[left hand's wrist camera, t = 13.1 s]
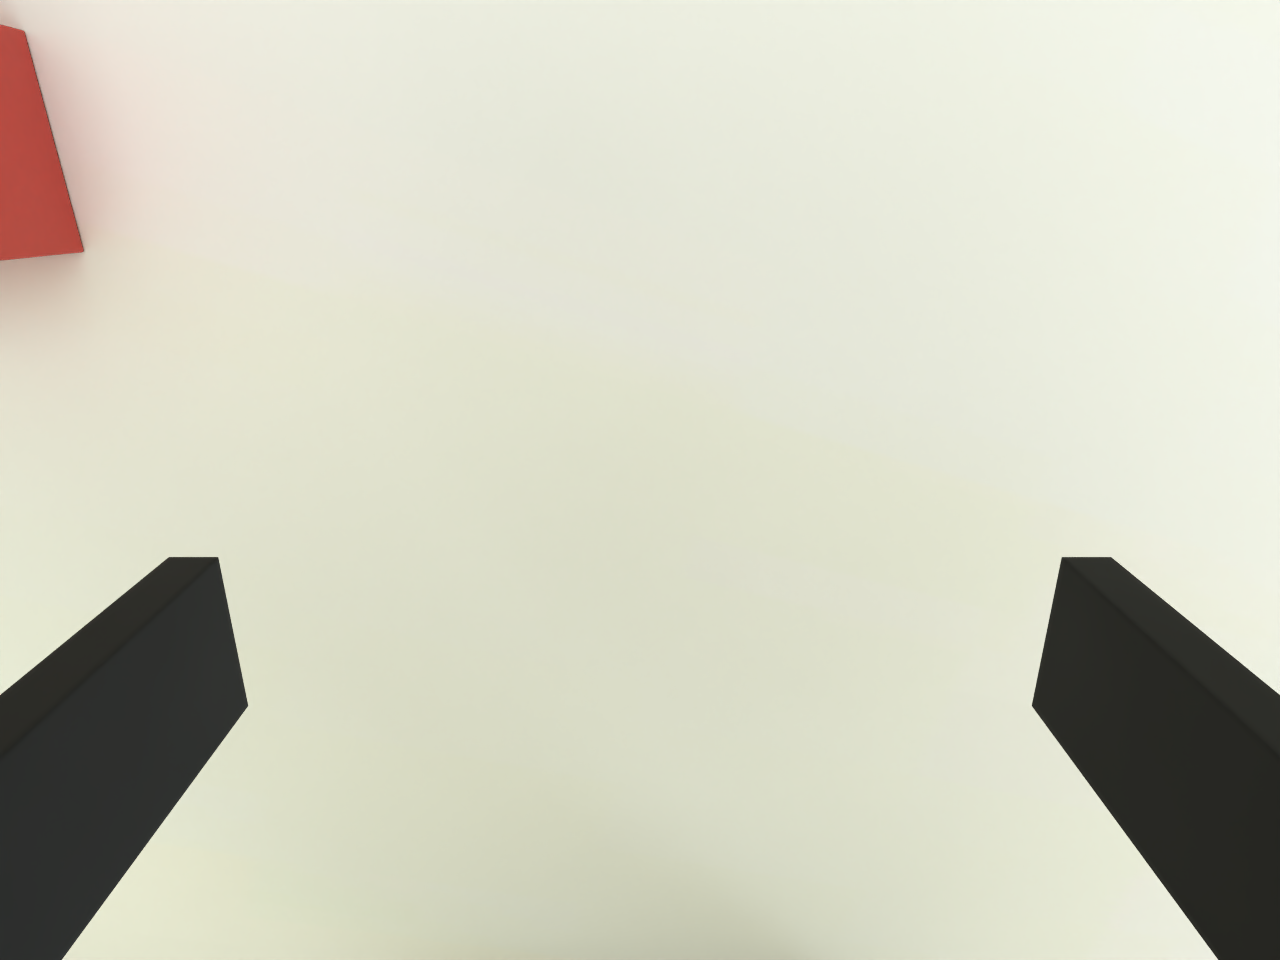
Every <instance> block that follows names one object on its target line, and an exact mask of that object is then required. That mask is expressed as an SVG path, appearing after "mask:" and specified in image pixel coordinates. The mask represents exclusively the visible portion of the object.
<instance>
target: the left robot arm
mask: <svg viewBox="0 0 1280 960" xmlns="http://www.w3.org/2000/svg"><path fill="white" fill-rule="evenodd" d="M247 707H248V703H247V698H246V693H245V688H244V683H243V678H242V673H241V668H240V663H239V658H238V653H237V648H236V643H235V638H234V633H233V628H232V624H231V619H230V614H229V609H228V604H227V599H226V594H225V589H224V584H223V579H222V574H221V569H220V564H219V559H218V557H169V558H167V559H166V560H165V561H164V562H163V563H161V564H160V565H159V566H158V567H156V568H155V569H154V570H153V571H151V572H150V573H149V574H148V575H147V576H145V577H144V578H143V579H142V580H140V581H139V582H138V583H137V584H136V585H134V586H133V587H132V588H131V589H129V590H128V591H127V592H126V593H125V594H123V595H122V596H121V597H120V598H118V599H117V600H116V601H115V602H114V603H112V604H111V605H110V606H109V607H107V608H106V609H105V610H104V611H103V612H101V613H100V614H99V615H98V616H96V617H95V618H94V619H93V620H92V621H90V622H89V623H88V624H87V625H85V626H84V627H83V628H82V629H81V630H79V631H78V632H77V633H76V634H74V635H73V636H72V637H71V638H70V639H68V640H67V641H66V642H65V643H63V644H62V645H61V646H60V647H59V648H57V649H56V650H55V651H54V652H52V653H51V654H50V655H49V656H48V657H46V658H45V659H44V660H43V661H41V662H40V663H39V664H38V665H37V666H35V667H34V668H33V669H32V670H30V671H29V672H28V673H27V674H25V675H24V676H23V677H22V678H21V679H19V680H18V681H17V682H16V683H14V684H13V685H12V686H11V687H10V688H8V689H7V690H6V691H5V692H3V693H2V694H1V695H0V960H62V959H63V957H64V956H65V955H66V953H67V952H68V950H69V949H70V948H71V946H72V945H73V944H74V942H75V941H76V940H77V938H78V937H79V935H80V934H81V933H82V931H83V930H84V929H85V927H86V926H87V925H88V923H89V922H90V920H91V919H92V918H93V916H94V915H95V914H96V912H97V911H98V910H99V908H100V907H101V905H102V904H103V903H104V901H105V900H106V899H107V897H108V896H109V895H110V893H111V892H112V891H113V889H114V888H115V886H116V885H117V884H118V882H119V881H120V880H121V878H122V877H123V876H124V874H125V873H126V871H127V870H128V869H129V867H130V866H131V865H132V863H133V862H134V861H135V859H136V858H137V856H138V855H139V854H140V852H141V851H142V850H143V848H144V847H145V846H146V844H147V843H148V841H149V840H150V839H151V837H152V836H153V835H154V833H155V832H156V831H157V829H158V828H159V827H160V825H161V824H162V822H163V821H164V820H165V818H166V817H167V816H168V814H169V813H170V812H171V810H172V809H173V807H174V806H175V805H176V803H177V802H178V801H179V799H180V798H181V797H182V795H183V794H184V792H185V791H186V790H187V788H188V787H189V786H190V784H191V783H192V782H193V780H194V779H195V777H196V776H197V775H198V773H199V772H200V771H201V769H202V768H203V767H204V765H205V764H206V763H207V761H208V760H209V758H210V757H211V756H212V754H213V753H214V752H215V750H216V749H217V748H218V746H219V745H220V743H221V742H222V741H223V739H224V738H225V737H226V735H227V734H228V733H229V731H230V730H231V728H232V727H233V726H234V724H235V723H236V722H237V720H238V719H239V718H240V716H241V715H242V713H243V712H244V711H245V709H246V708H247ZM1032 707H1033V708H1034V709H1035V711H1036V712H1037V713H1038V715H1039V716H1040V718H1041V719H1042V720H1043V722H1044V723H1045V724H1046V726H1047V727H1048V728H1049V730H1050V731H1051V733H1052V734H1053V735H1054V737H1055V738H1056V739H1057V741H1058V742H1059V743H1060V745H1061V746H1062V748H1063V749H1064V750H1065V752H1066V753H1067V754H1068V756H1069V757H1070V758H1071V760H1072V761H1073V763H1074V764H1075V765H1076V767H1077V768H1078V769H1079V771H1080V772H1081V773H1082V775H1083V776H1084V777H1085V779H1086V780H1087V782H1088V783H1089V784H1090V786H1091V787H1092V788H1093V790H1094V791H1095V792H1096V794H1097V795H1098V797H1099V798H1100V799H1101V801H1102V802H1103V803H1104V805H1105V806H1106V807H1107V809H1108V810H1109V812H1110V813H1111V814H1112V816H1113V817H1114V818H1115V820H1116V821H1117V822H1118V824H1119V825H1120V827H1121V828H1122V829H1123V831H1124V832H1125V833H1126V835H1127V836H1128V837H1129V839H1130V840H1131V841H1132V843H1133V844H1134V846H1135V847H1136V848H1137V850H1138V851H1139V852H1140V854H1141V855H1142V856H1143V858H1144V859H1145V861H1146V862H1147V863H1148V865H1149V866H1150V867H1151V869H1152V870H1153V871H1154V873H1155V874H1156V876H1157V877H1158V878H1159V880H1160V881H1161V882H1162V884H1163V885H1164V886H1165V888H1166V889H1167V891H1168V892H1169V893H1170V895H1171V896H1172V897H1173V899H1174V900H1175V901H1176V903H1177V904H1178V905H1179V907H1180V908H1181V910H1182V911H1183V912H1184V914H1185V915H1186V916H1187V918H1188V919H1189V920H1190V922H1191V923H1192V925H1193V926H1194V927H1195V929H1196V930H1197V931H1198V933H1199V934H1200V935H1201V937H1202V938H1203V940H1204V941H1205V942H1206V944H1207V945H1208V946H1209V948H1210V949H1211V950H1212V952H1213V953H1214V955H1215V956H1216V957H1217V959H1218V960H1280V695H1279V694H1278V693H1277V692H1275V691H1274V690H1273V689H1272V688H1270V687H1269V686H1268V685H1267V684H1266V683H1264V682H1263V681H1262V680H1261V679H1259V678H1258V677H1257V676H1256V675H1255V674H1253V673H1252V672H1251V671H1250V670H1248V669H1247V668H1246V667H1245V666H1243V665H1242V664H1241V663H1240V662H1239V661H1237V660H1236V659H1235V658H1234V657H1232V656H1231V655H1230V654H1229V653H1228V652H1226V651H1225V650H1224V649H1223V648H1221V647H1220V646H1219V645H1218V644H1217V643H1215V642H1214V641H1213V640H1212V639H1210V638H1209V637H1208V636H1207V635H1206V634H1204V633H1203V632H1202V631H1201V630H1199V629H1198V628H1197V627H1196V626H1195V625H1193V624H1192V623H1191V622H1190V621H1188V620H1187V619H1186V618H1185V617H1184V616H1182V615H1181V614H1180V613H1179V612H1177V611H1176V610H1175V609H1174V608H1173V607H1171V606H1170V605H1169V604H1168V603H1166V602H1165V601H1164V600H1163V599H1162V598H1160V597H1159V596H1158V595H1157V594H1155V593H1154V592H1153V591H1152V590H1151V589H1149V588H1148V587H1147V586H1146V585H1144V584H1143V583H1142V582H1141V581H1140V580H1138V579H1137V578H1136V577H1135V576H1133V575H1132V574H1131V573H1130V572H1128V571H1127V570H1126V569H1125V568H1124V567H1122V566H1121V565H1120V564H1119V563H1117V562H1116V561H1115V560H1114V559H1113V558H1111V557H1062V559H1061V564H1060V569H1059V574H1058V579H1057V584H1056V589H1055V594H1054V599H1053V604H1052V609H1051V614H1050V619H1049V624H1048V628H1047V633H1046V638H1045V643H1044V648H1043V653H1042V658H1041V663H1040V668H1039V673H1038V678H1037V683H1036V688H1035V693H1034V698H1033V703H1032Z"/></svg>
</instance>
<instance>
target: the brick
mask: <svg viewBox="0 0 1280 960" xmlns="http://www.w3.org/2000/svg"><path fill="white" fill-rule="evenodd" d="M79 252H83V247H82V243H81V240H80V236H79V232H78V229H77V225H76V221H75V217H74V214H73V210H72V206H71V203H70V199H69V195H68V192H67V188H66V184H65V180H64V177H63V173H62V169H61V166H60V162H59V158H58V155H57V151H56V147H55V144H54V140H53V136H52V132H51V129H50V125H49V121H48V118H47V114H46V110H45V107H44V103H43V99H42V96H41V92H40V88H39V84H38V81H37V77H36V73H35V70H34V66H33V62H32V59H31V55H30V51H29V47H28V44H27V40H26V36H25V33H24V31H22V30H19V29H15V28H11V27H8V26H4V25H0V261H1V260H11V259H20V258H30V257H40V256H49V255H59V254H69V253H79Z"/></svg>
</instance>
